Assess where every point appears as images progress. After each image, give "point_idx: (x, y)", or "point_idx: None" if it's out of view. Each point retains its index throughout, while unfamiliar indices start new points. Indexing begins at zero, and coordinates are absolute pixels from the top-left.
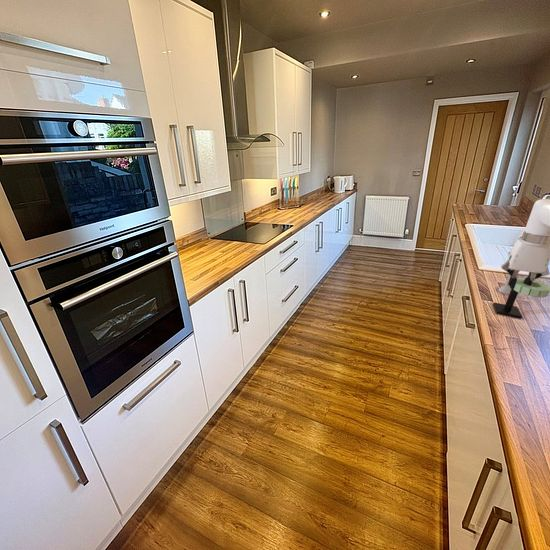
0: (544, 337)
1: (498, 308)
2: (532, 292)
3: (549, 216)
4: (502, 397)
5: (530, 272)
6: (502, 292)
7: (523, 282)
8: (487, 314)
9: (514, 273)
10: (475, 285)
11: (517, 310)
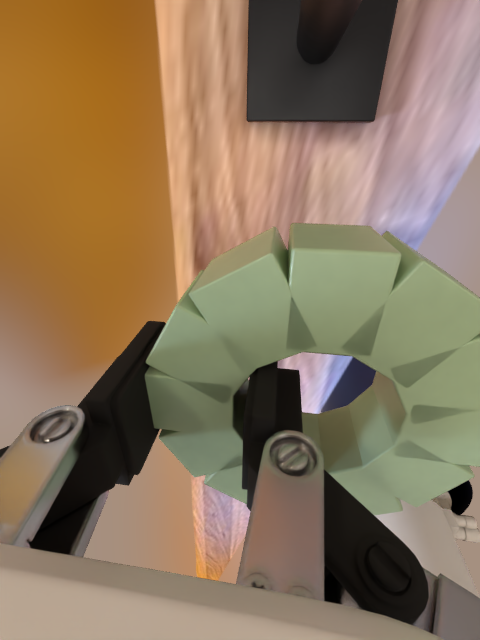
0: None
1: (261, 60)
2: None
3: None
4: (196, 506)
5: (260, 552)
6: None
7: (245, 375)
8: (200, 155)
9: (45, 549)
10: None
11: (381, 25)
